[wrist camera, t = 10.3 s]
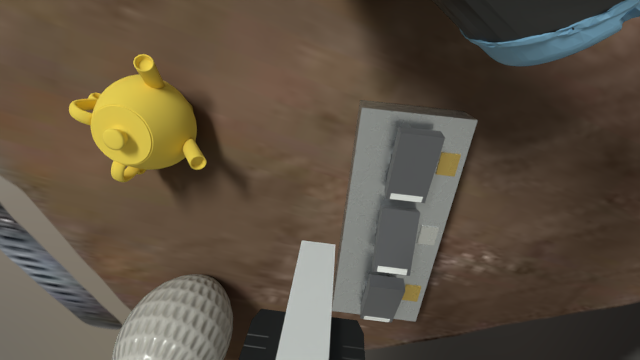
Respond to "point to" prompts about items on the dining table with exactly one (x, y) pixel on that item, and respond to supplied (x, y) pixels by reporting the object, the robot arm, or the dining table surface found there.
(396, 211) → the switch
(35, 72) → the dining table surface
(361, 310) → the switch
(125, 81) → the teapot
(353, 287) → the console
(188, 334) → the vase
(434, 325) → the dining table surface
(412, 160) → the switch
